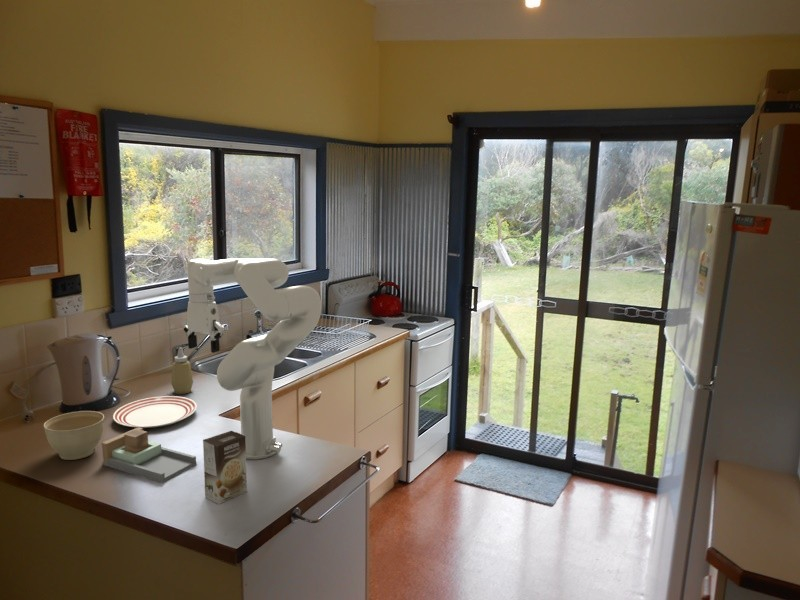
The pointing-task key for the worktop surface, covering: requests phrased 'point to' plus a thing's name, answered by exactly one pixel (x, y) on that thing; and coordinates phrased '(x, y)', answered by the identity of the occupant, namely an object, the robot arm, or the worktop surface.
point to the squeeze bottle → (181, 374)
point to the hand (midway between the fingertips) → (204, 349)
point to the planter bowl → (75, 433)
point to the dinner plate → (155, 411)
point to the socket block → (138, 454)
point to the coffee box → (225, 466)
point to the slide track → (152, 469)
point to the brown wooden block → (136, 441)
